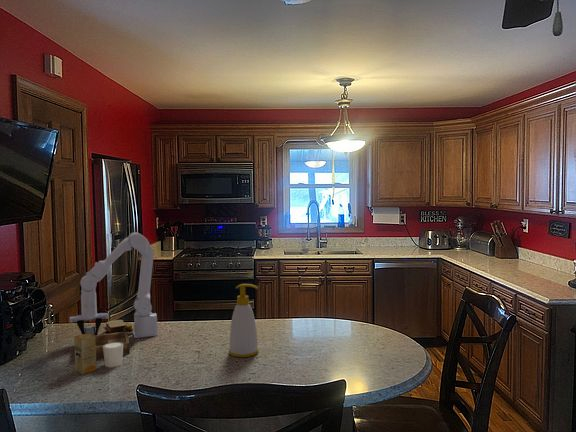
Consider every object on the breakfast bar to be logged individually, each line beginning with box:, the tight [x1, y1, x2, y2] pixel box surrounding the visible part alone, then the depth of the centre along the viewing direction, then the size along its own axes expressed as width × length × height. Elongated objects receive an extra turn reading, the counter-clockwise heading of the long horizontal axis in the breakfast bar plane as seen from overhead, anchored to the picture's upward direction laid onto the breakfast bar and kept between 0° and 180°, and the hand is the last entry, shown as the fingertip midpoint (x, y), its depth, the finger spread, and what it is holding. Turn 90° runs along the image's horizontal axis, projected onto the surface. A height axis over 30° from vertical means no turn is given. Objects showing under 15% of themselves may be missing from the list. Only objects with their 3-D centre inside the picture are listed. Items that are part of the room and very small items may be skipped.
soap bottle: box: [228, 283, 259, 358], centre depth 172 cm, size 11×12×26 cm
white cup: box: [103, 342, 124, 368], centre depth 162 cm, size 7×7×7 cm
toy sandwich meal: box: [103, 319, 135, 336], centre depth 198 cm, size 12×14×5 cm
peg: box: [84, 325, 96, 335], centre depth 187 cm, size 4×4×6 cm
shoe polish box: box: [73, 333, 97, 375], centre depth 157 cm, size 5×5×12 cm
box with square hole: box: [95, 332, 131, 359], centre depth 177 cm, size 18×16×4 cm
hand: (90, 337), depth 187 cm, fingers closed on peg, 4 cm apart
